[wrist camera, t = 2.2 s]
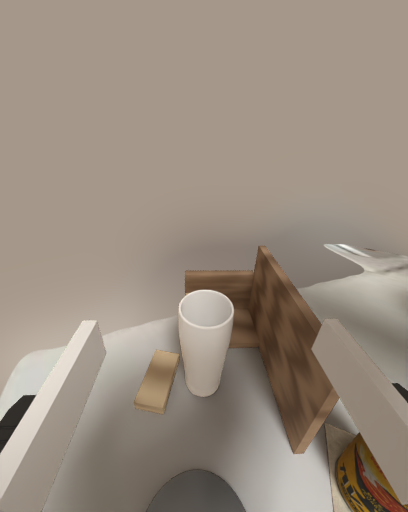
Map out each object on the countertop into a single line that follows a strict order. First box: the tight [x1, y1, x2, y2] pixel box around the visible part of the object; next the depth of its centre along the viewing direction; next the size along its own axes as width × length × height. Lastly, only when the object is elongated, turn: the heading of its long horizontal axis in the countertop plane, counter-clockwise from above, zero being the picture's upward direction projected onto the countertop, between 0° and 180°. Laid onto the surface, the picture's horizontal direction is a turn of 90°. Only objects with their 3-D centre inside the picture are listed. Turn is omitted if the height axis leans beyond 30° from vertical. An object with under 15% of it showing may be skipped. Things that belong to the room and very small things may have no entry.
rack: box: [185, 246, 339, 454], centre depth 31 cm, size 24×15×16 cm, turn 3°
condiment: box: [325, 423, 408, 512], centre depth 20 cm, size 7×8×12 cm
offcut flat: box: [134, 350, 180, 414], centre depth 31 cm, size 8×4×2 cm, turn 171°
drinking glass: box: [178, 290, 234, 397], centre depth 28 cm, size 7×7×15 cm
